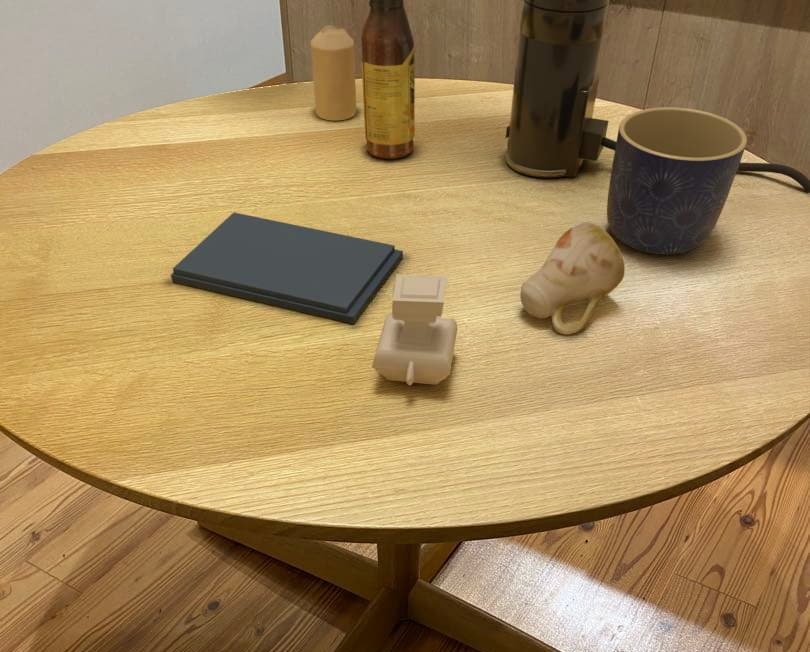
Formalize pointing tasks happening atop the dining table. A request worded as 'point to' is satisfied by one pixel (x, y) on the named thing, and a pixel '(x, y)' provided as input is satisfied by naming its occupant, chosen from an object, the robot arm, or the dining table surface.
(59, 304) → the dining table surface
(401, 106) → the sauce bottle
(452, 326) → the beige blocky piece
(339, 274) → the dark grey rectangular slab
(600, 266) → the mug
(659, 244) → the planter
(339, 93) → the candle
